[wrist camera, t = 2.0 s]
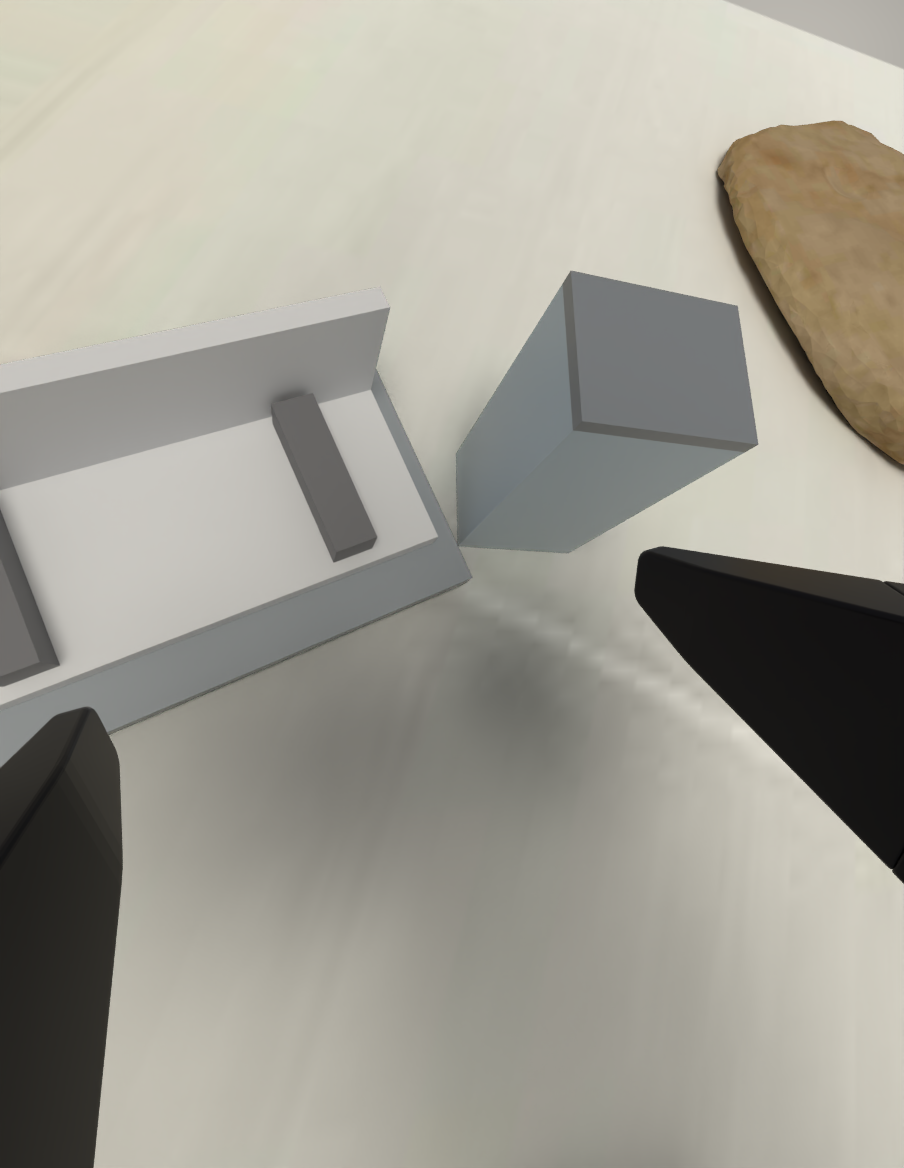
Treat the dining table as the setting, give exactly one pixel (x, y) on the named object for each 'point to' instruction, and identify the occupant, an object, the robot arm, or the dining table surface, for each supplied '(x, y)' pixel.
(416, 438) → the dining table surface
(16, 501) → the grey holder stand
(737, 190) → the stone
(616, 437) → the block
